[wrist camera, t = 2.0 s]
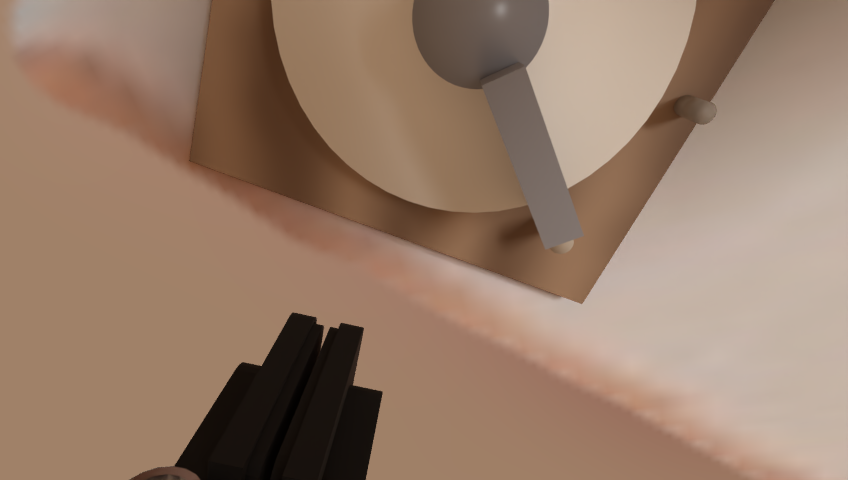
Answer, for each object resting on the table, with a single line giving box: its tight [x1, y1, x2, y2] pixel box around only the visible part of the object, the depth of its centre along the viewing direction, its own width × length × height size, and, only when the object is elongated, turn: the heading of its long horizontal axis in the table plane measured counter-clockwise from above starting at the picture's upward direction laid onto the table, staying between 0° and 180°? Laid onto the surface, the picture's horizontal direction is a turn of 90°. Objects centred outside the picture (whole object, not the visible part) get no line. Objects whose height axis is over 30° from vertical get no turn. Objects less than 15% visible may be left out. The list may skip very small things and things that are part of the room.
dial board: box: [189, 0, 774, 304], centre depth 20 cm, size 24×24×6 cm
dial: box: [271, 0, 696, 250], centre depth 18 cm, size 18×18×6 cm
